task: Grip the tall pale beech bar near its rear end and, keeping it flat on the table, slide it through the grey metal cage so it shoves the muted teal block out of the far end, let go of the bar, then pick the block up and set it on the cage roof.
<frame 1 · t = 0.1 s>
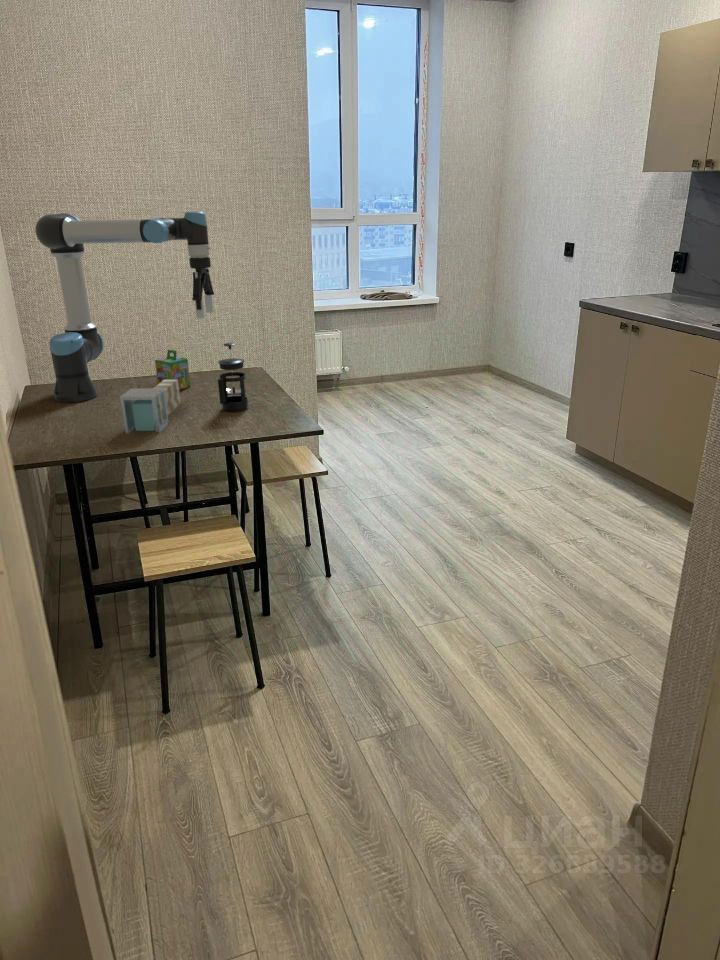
hand: (205, 315, 265), 28 cm above the table, fingers open, 13 cm apart
bar: (164, 412, 246), on the table
cage: (147, 428, 228), on the table
french press: (234, 409, 248), on the table
block: (147, 427, 229), on the table
chalk box: (174, 388, 276), on the table
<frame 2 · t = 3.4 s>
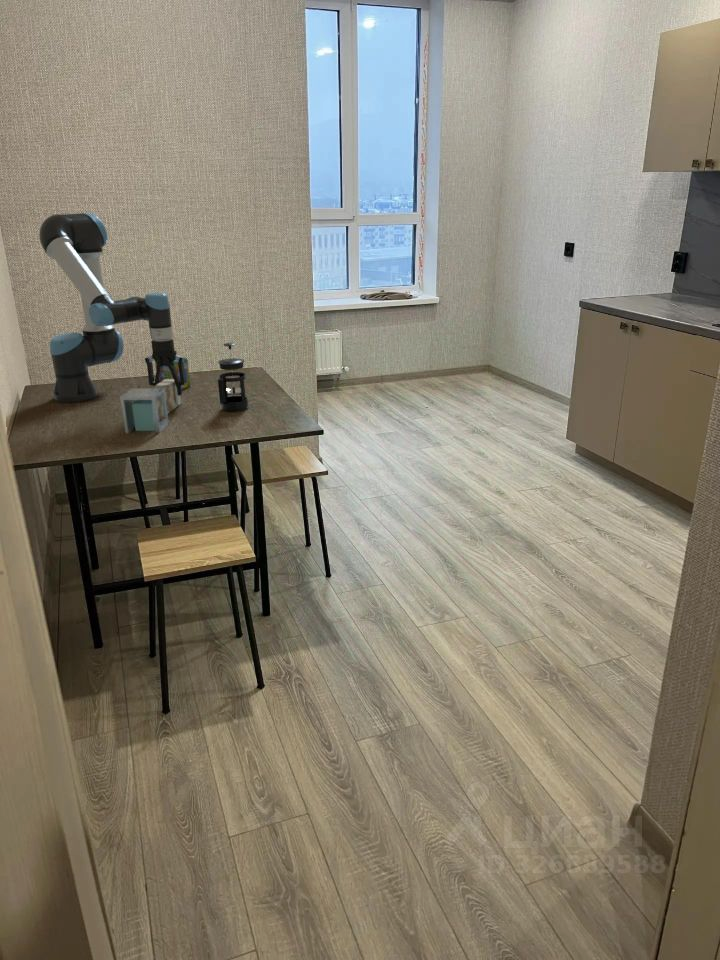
hand: (170, 403, 252), 1 cm above the table, fingers closed on bar, 5 cm apart
bar: (163, 412, 246), on the table, touching gripper
everything else where it was.
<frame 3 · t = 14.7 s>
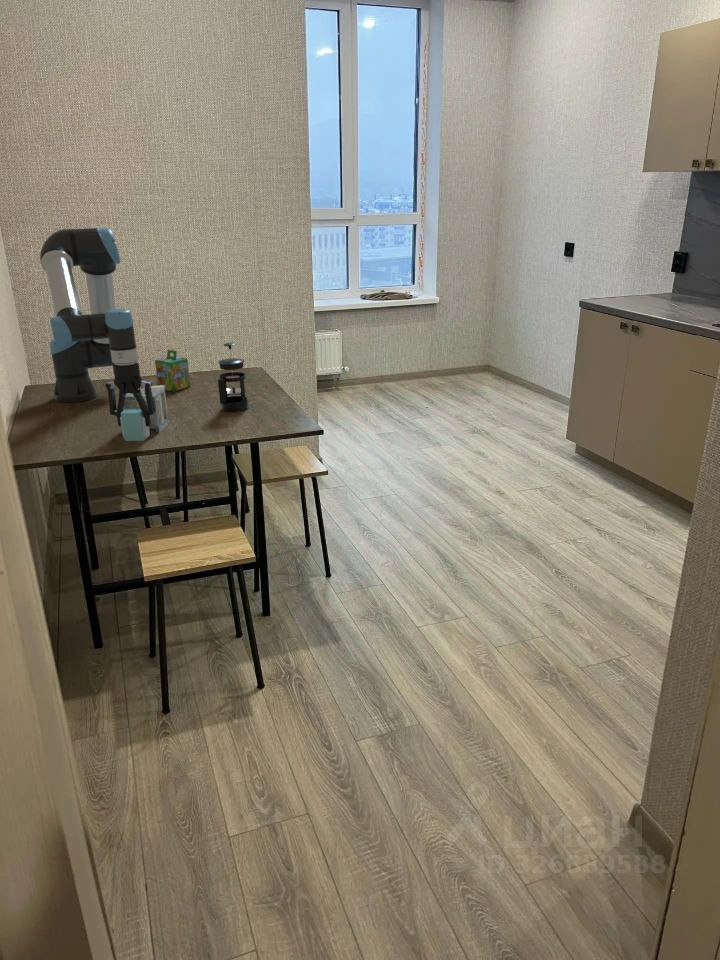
hand: (136, 435, 218), 1 cm above the table, fingers closed on block, 6 cm apart
bar: (156, 419, 238), on the table
block: (137, 437, 220), on the table, touching gripper
everything else where it was.
when the fingers open (14 cm above the table, at t = 18.7 s): block drops 1 cm, resting on cage.
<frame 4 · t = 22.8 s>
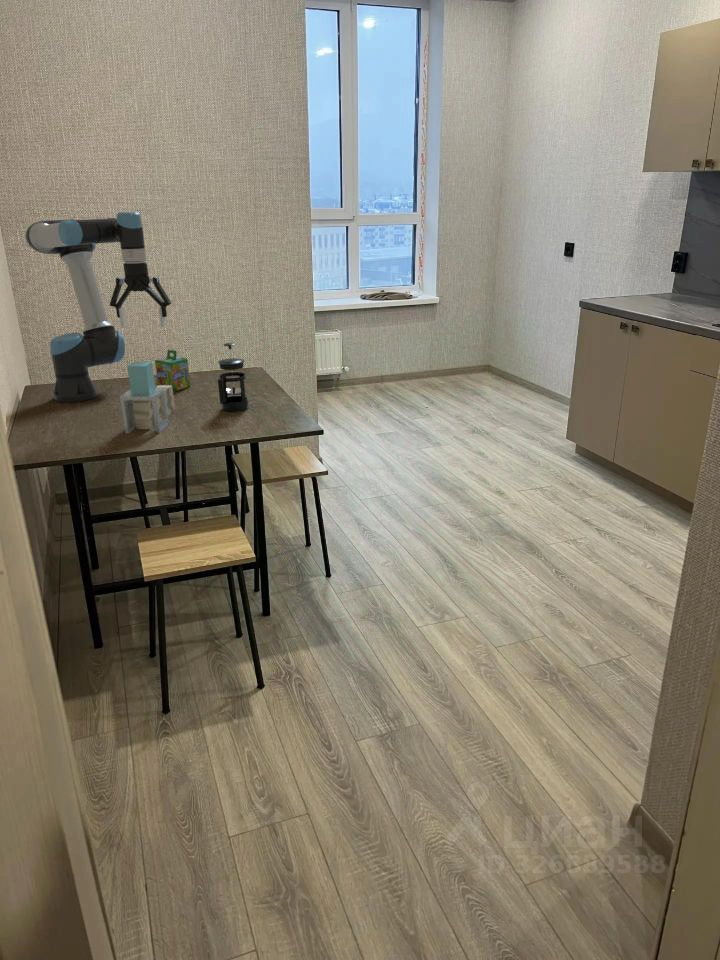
hand: (143, 327, 239), 29 cm above the table, fingers open, 13 cm apart
block: (143, 391, 225), point 12 cm above the table, touching cage
at the end: block inside the target area on the cage (0.9 cm from its centre), point 12.0 cm above the cage's base; the gripper is holding nothing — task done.
